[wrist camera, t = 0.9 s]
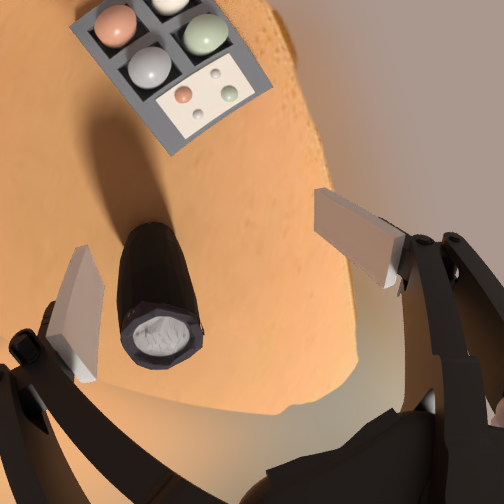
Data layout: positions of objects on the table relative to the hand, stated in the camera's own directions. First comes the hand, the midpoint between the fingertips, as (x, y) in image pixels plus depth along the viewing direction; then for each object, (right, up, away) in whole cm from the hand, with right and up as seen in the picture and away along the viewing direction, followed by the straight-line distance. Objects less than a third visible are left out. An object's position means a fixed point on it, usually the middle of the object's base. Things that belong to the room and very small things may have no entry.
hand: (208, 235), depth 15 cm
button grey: (-9, +20, +10) cm, 24 cm away
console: (-8, +24, +12) cm, 28 cm away
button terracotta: (-13, +24, +6) cm, 28 cm away
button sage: (-4, +24, +10) cm, 26 cm away
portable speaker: (-12, 0, +24) cm, 27 cm away
